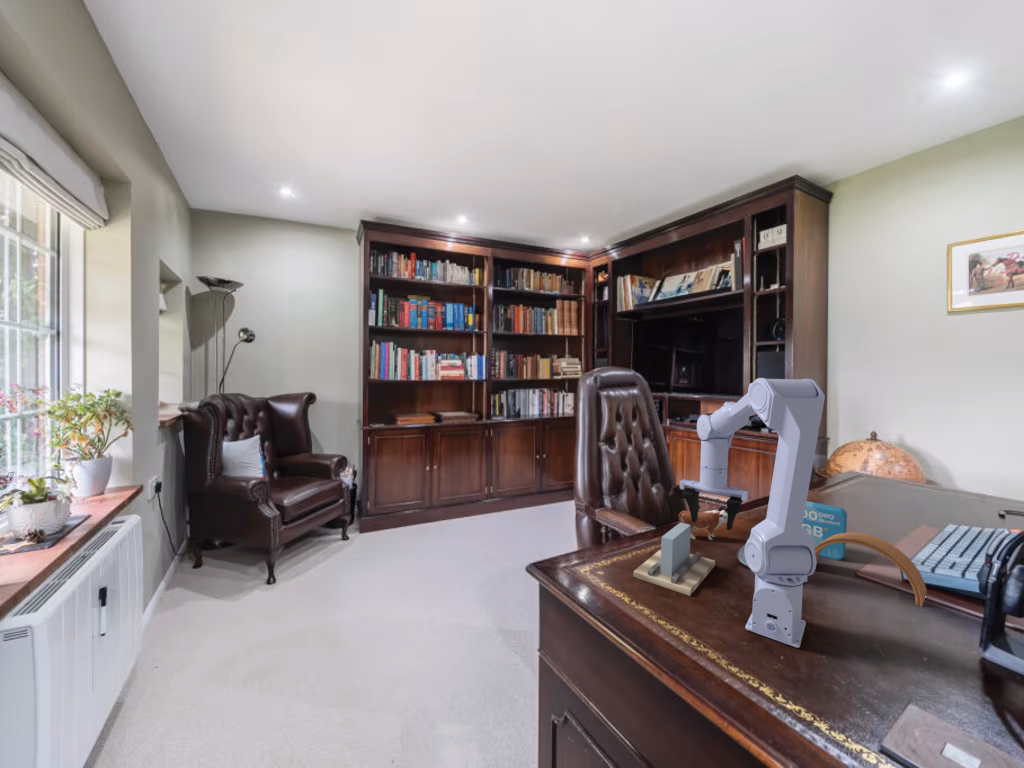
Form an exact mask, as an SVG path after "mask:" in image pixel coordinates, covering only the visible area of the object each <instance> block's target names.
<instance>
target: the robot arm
mask: <svg viewBox="0 0 1024 768" xmlns="http://www.w3.org/2000/svg"><path fill="white" fill-rule="evenodd" d="M825 398H826V395H825V394H824V392H823V390H822V389H821V387H820V386H819V384H818V383H817V382H816V381H815V380H814V379H811V378H803V379H796V378H795V379H792V378H791V379H790V378H784V379H783V378H765V377H758V378H756V379H755V380H754V381H753V382H750V383H749V384H748V389H747V393H746V394H744V396H742V397H741V398H740V399H739V400H738V401H737V402H735V401H725V402H724V403H723V406H721V407H720V408H719V409H716V410H714V411H713V413H712V414H709V415H708V414H701V415H700V416H699V417H698V419H697V422H696V432H697V433H696V434H697V436H698V438H699V439H700V464H699V465H700V466H699V481H698V480H690V479H689V480H688V479H680V480H679V489H680V490H684V491H683V492H682V497H683V498H684V500H685V502H686V503H687V506H688V509H689V510H688V511H690V514H691V519H692V522H696V521H697V519H698V512H699V508H698V507H699V497H700V493H704V494H705V493H706V494H710V495H711V494H712V495H715V496H721V497H727V498H728V499H727V500H726V507H727V511H726V512H727V513H728V518H727V522H726V530H727V531H731V530H732V529H733V526H734V521H735V518H736V516H737V514H738V511H739V509H740V508H741V506H742V504H743V503H744V502H747V501H748V500H749V498H750V497H749V493H750V492H749V490H746V489H740V488H738V487H733V486H728V465H729V464H728V461H729V459H728V458H729V449H730V448H731V447H732V440H733V438H734V436H735V432H736V431H738V430H740V429H742V428H744V427H745V426H746V425H747V424H748V423H749V420H750V417H751V416H754V415H755V414H756V415H757V416H758V418H760V420H761V421H762V422H763V423H764V424H765V425H766V427H767V428H769V429H771V430H773V431H775V432H776V434H777V435H778V441H777V447H776V452H775V459H774V460H775V461H774V467H773V473H772V478H771V479H772V480H771V484H770V492H769V497H768V499H769V500H768V505H767V511H766V516H765V519H764V520H762V521H761V522H759V523H758V524H756V525H755V526H753V527H752V528H751V530H750V535H749V537H748V539H747V541H746V543H745V544H744V552H743V553H744V559H745V561H746V564H747V566H748V568H749V569H750V570H751V572H753V574H754V593H753V598H752V611H751V614H750V616H749V618H748V620H747V622H746V624H745V629H746V631H748V632H749V631H750V632H752V633H755V634H757V635H760V636H763V637H766V638H769V639H772V640H774V641H777V642H780V643H782V644H785V645H789V646H791V647H794V648H797V649H799V648H800V647H801V643H802V639H803V636H804V633H805V628H806V625H807V624H806V620H804V619H802V614H803V613H802V610H803V587H804V586H803V584H804V583H808V577H809V576H811V575H813V574H814V572H815V571H816V567H817V564H816V555H815V544H816V542H815V540H814V539H813V538H812V536H811V535H810V534H809V533H808V532H807V531H805V530H804V529H803V528H802V524H803V518H804V512H805V507H806V501H808V494H809V488H810V483H811V477H812V472H813V471H812V470H813V466H814V460H815V455H816V450H817V449H816V448H817V443H818V437H819V429H820V426H821V421H822V415H823V409H824V405H825V404H824V403H825Z"/></svg>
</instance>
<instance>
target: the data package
mask: <svg viewBox="0 0 1024 768" xmlns="http://www.w3.org/2000/svg"><path fill="white" fill-rule="evenodd" d="M847 524H848V512H847V511H846V510H845V509H844V508H843V507H839V506H834V505H830V504H829V505H828V504H824V503H817V502H813V501H808V500H807V501H806V507H805V512H804V518H803V524H802V528H803V529H804V530H805V531H807V532H808V533H809V534H810V535H811V536H812V538H813V539H814V540H815V542H816V544H815V547H816V546H817V545H819V544H820V543H821V542H823V541H824V540H826V539H827V538H829V537H831V536H833V535H837V534H841V533H847ZM846 545H847V543H836V544H832V545H829V546H826V547H824V548H823V550H822V551H821V552H820V554H819V556H818V557H824V558H827V559H831V560H836V561H839V560H842V559H843V558H844V557H845V552H846Z"/></svg>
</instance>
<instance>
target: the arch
mask: <svg viewBox="0 0 1024 768" xmlns="http://www.w3.org/2000/svg"><path fill="white" fill-rule="evenodd" d="M836 543H846V544H854V545H858V546H859V545H860V546H863V547H867V548H868V549H871V550H874V551H876V552H877V553H880V554H881V555H883V556H884V557H886V558H887V559H889V560H890V561H891V562H892V563H894V564H895V566H897V567H898V568H899V569H900V571H901V572H902V573H903V574H904V575H905V577H906V579H908V581H909V583H910V586H911V588H912V591H913V594H914V598H915V599H914V600H915V601H914V603H915V605H916V606H920V607H923V605H924V604H923V603H925V602H926V600H925V596H926V593H927V591H928V590H927V587H926V586H927V585H926V583H925V579H924V578H923V575H922V574H921V572H920V570H919V568H917V567H916V565H915V564H914V563H913V561H912V560H911V559H910V558H909V557H908V556H907V555H906V554H905V553H904V552H903V551H901V550H900V549H899V548H897V547H896V546H894V545H893V544H891V543H889V542H888V541H886V540H883V539H881V538H878V537H876V536H874V535H873V536H872V535H870V534H865V533H860V532H846V533H841V534H837V535H833V536H831V537H829V538H827V539H826V540H824V541H823V542H821V543H820V544H819V545H817V546H816V547H815V555H816V565H818V559H819V557H820V556H819V554H820V552H821V551H822V550H823V548H824V547H826V546H829V545H832V544H836ZM927 594H928V593H927ZM924 601H925V602H924Z"/></svg>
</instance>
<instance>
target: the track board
mask: <svg viewBox="0 0 1024 768" xmlns="http://www.w3.org/2000/svg"><path fill="white" fill-rule="evenodd" d="M715 566H716V560H714V559H710V558H707V557H703V556H702V553H701V552H695V553H694V554H693V553H690V559H689V560H688V561H687V562H686V563H685V564H684V565H683V566H682V567H681V568H680V569H679V570H678V571H677V572H676V573H675V574H674V575H673V576H672V577H670V576H667V575H664V574H661V573H660V569H661V548H660V549H659V550H657V552H655V553H654V554H653V555H652V556H650V557H649V558H648V559H647V560H646V561H644V562H643V563H641V565H639V566H638V567H637V568H636V569H634V570H633V575H632V576H633V578H635V577H636V579H639V580H642V581H645V582H647V583H651V584H654V585H656V586H660V587H663V588H665V589H669V590H671V591H674V592H678V593H680V594H683V595H686V596H689V597H691V595H693V593H695V590H697V588H698V587H699V586H700V585H701V584H702V582H703V581H704V579H705V578H706V577H707V576H708V575H709V574H710V573H711V571H712V570H713V568H715Z"/></svg>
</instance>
